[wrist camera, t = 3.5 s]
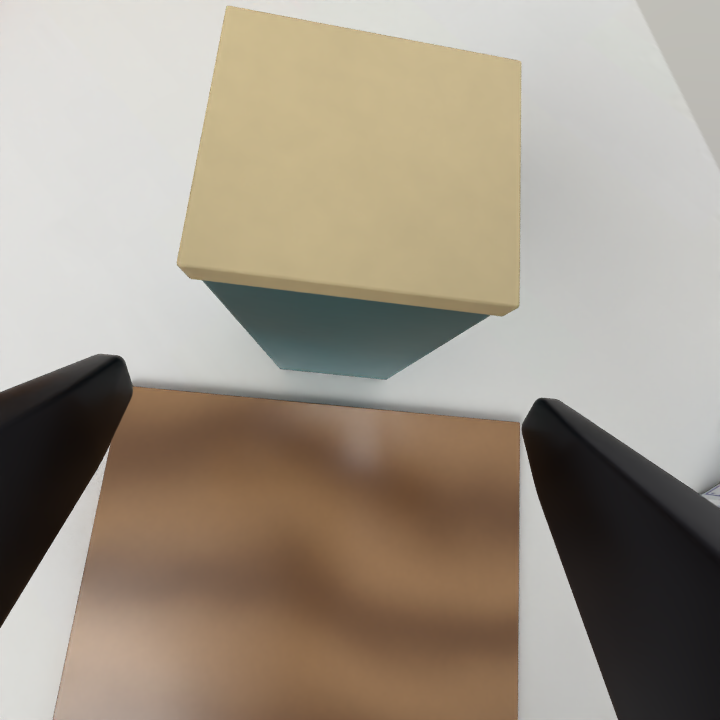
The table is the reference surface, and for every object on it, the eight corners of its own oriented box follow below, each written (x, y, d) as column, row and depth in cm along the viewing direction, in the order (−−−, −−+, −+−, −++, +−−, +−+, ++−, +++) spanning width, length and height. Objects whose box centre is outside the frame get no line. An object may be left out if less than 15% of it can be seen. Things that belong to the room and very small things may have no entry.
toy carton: (388, 381, 18) (520, 307, 6) (277, 370, 18) (174, 264, 6) (395, 289, 19) (522, 59, 7) (289, 275, 19) (225, 4, 6)
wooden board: (512, 829, 15) (517, 839, 15) (33, 835, 14) (25, 848, 13) (516, 422, 19) (520, 422, 18) (127, 386, 17) (122, 385, 16)
